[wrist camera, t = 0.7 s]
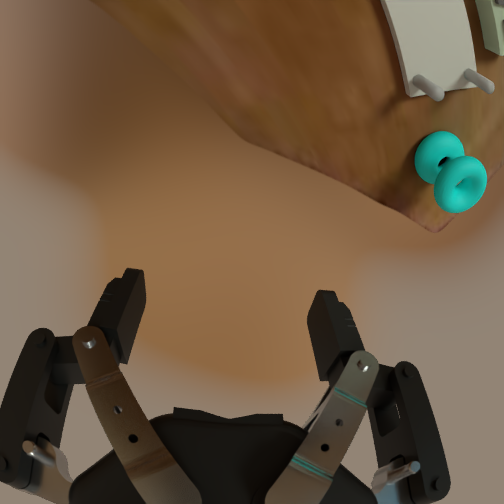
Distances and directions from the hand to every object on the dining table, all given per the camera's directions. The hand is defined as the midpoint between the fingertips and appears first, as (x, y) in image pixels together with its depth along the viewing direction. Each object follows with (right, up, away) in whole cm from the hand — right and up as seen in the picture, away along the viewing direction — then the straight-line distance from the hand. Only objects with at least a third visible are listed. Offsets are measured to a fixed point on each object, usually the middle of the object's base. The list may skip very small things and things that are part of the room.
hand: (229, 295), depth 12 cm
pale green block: (+34, +37, +1) cm, 50 cm away
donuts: (+31, +18, +24) cm, 43 cm away
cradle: (+23, +32, +6) cm, 40 cm away
